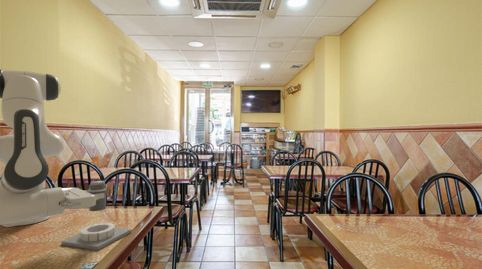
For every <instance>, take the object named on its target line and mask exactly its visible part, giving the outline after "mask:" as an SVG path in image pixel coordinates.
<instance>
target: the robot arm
mask: <svg viewBox="0 0 482 269" xmlns="http://www.w3.org/2000/svg"><path fill="white" fill-rule="evenodd" d="M61 88H62V87H61V84H60V81H59V79H58V77H56V76H55V75H52V74H49V73H42V72H41V73H40V72H36V71H28V70H24V71H22V70H3V69H0V99H1V115H2V120H3V123H4V124H5V125H6V126H8V127H9V128H11V129H12V131H13V134H6V135H0V161H1V162H2V163H4V164H5V167H4V170H3V174H2V176H1V178H0V226H2V227H4V228H12V227H17V226H26V225H31V224H32V225H33V224H36V223H40V222H44V221H46V220H48V219H50V218H51V216H58V215H61V214H62V215H63V213H64V212H65V210H79V209H80V210H81V209H86V208H89V207H92V206H95V205H96V200H98V199H101V198H104V197H105V194H104V193H98V194H91V193H89V189H88V190H83V189H80V188H79V187H64V188H62V187H61V186H60V187H59V186H58V187H51V188H47V187H46V179H47V177H48V176H49V173H50V172H49V171H50V168H49V164H48V163H47V161H46V159H47V158H48V159H49V158H51V157H57V156H60V154H62V152H63V151H64V147H65V143H64V140H63V139H62V137H61V136H60V135H58V134H55V133H54V132H52V131H51V130H50V128H49V127H48V126H47V124H46V119H45V102H44V101H46V102H47V101H49V102H50V101H55V100H56V99H58V98H59V96H60V94H61V90H62V89H61Z"/></svg>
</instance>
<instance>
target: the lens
mask: <svg viewBox="0 0 482 269" xmlns="http://www.w3.org/2000/svg"><path fill="white" fill-rule="evenodd" d="M106 186H107V185H106V183H105V181H104V180H95V181H91V182H90V184H89V185H88V190H89V193H91V194H98V193H104V194H105V197H104V198H101V199H98V200H96V205H95V206H92V207H88V211H90V212H99V211H103V210H106V209H107V187H106Z"/></svg>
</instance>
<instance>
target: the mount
mask: <svg viewBox="0 0 482 269" xmlns="http://www.w3.org/2000/svg"><path fill="white" fill-rule="evenodd" d="M131 233H132V229H131V228H125V227H124V228H122V227H116V224H114V223H112V222H100V223H95V224H90V225H87V226H85V227H83V228H82V229H81V230H79V233H77V234H76V235H73V236H70V237H69V238H66V239H64V240H62V241H61V245H62V246H67V247H74V248H80V249H88V250H93V251H99V250H101V249H103V248H105V247H106V246H109V245H110V244H112V243H114V242H116V241H118V240H120V239H121V238H123V237H124V238H125V237H126V236H127V235H129V234H131Z"/></svg>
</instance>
